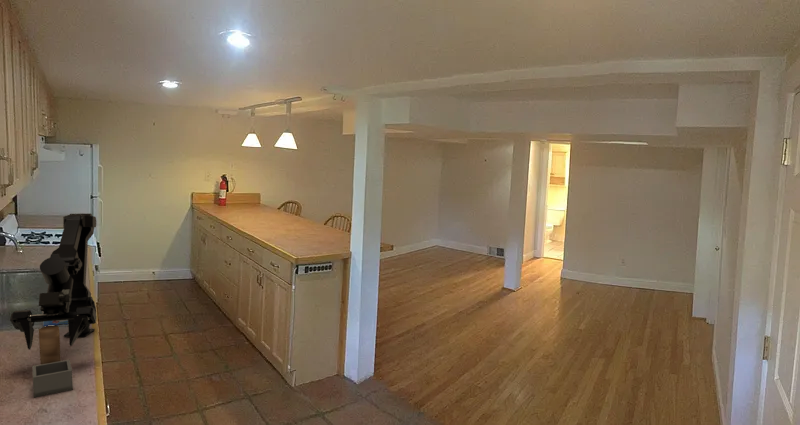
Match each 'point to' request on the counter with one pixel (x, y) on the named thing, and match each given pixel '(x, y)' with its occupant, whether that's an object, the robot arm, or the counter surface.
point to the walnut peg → (49, 344)
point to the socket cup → (52, 378)
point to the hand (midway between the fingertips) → (50, 347)
